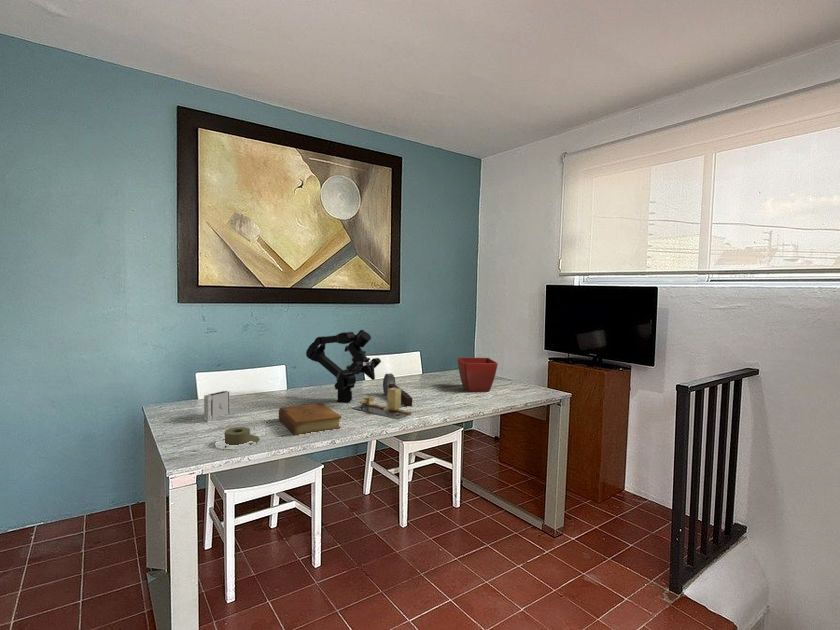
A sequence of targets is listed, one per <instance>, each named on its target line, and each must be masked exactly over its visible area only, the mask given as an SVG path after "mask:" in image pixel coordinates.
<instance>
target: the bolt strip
mask: <svg viewBox="0 0 840 630" xmlns="http://www.w3.org/2000/svg"><path fill="white" fill-rule="evenodd" d="M355 409H356V411H361V412H364V411H365V413H369V414H374V415H377V416H378V415H379V416H383V417H388V418H392V419H396V420H400V419H403V418H406V417H409V415H408V414H403V413H399V412H394V411H389V410H388V412H387V410H383V409H380V408H375V407H371V406H366V405H363V407H361V404H360V405H357V406H354V407H352V410H355Z"/></svg>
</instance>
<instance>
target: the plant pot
mask: <svg viewBox="0 0 840 630" xmlns="http://www.w3.org/2000/svg"><path fill="white" fill-rule="evenodd" d="M498 364H499V363H498V362H496V361H495V360H492V359H491V358H489V357H457V366H458V367H457V368H458V372H459V376H460V377H459V378H460V381H461V385H462V387H463V388H464V389H465V391H467V392H490V390H491V388H492V386H493V384H494V379H495V377H496V373H497V369H498Z"/></svg>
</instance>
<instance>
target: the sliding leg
mask: <svg viewBox="0 0 840 630" xmlns="http://www.w3.org/2000/svg"><path fill="white" fill-rule="evenodd" d="M399 388H400V387H399ZM399 388H394V387H393V388H390V389H388V395H387V403H386V408H383V410H387V412H388V409H392V410H397V409H400V410H401V408H402V403H401V389H402V388H401V389H399Z"/></svg>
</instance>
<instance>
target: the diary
mask: <svg viewBox="0 0 840 630" xmlns="http://www.w3.org/2000/svg"><path fill="white" fill-rule="evenodd" d="M340 419H342V416H341V415H340V414H339V413H337V412H336V411H334V410H333V409H332V408H330V407H328V406H327V405H325V404H324V403H322V402H318V403H309V404H302V405H294V406H293V405H292V406H285V407H284V406H283V407H280V408H279V410H278V420H279V421H280V422H281V423H282V424H283V425H284V426H285V427H286V428H287V429H288V430H289V431H290V432H291V433H292V434H293V435H294V436H295V435H297V436H300V435H299V434H304V435H307V434H306V433H310V434H312V433H311V432H317V433H320V432H319V431H323V432H326V431H325V430H330V431H334V430H333V429H336V430H341V429H342V427H341V426H340ZM340 428H341V429H340Z"/></svg>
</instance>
